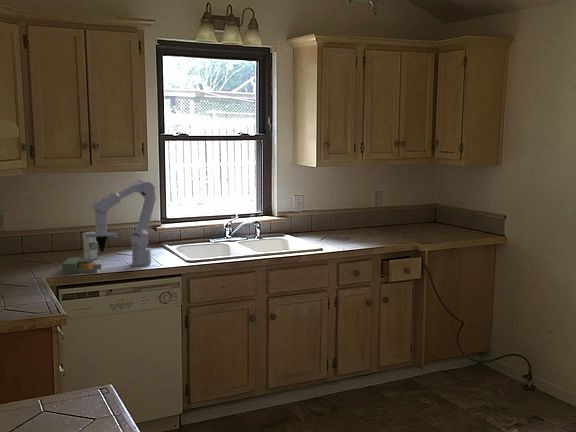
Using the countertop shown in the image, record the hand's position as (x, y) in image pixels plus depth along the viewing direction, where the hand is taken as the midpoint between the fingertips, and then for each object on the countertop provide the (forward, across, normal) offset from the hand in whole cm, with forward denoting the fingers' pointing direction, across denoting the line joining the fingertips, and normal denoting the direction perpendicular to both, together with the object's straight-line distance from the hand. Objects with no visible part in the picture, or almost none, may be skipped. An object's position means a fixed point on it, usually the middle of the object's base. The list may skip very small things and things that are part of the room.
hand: (102, 251), depth 307 cm
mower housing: (+9, +10, +1) cm, 13 cm away
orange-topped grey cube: (+9, +8, 0) cm, 12 cm away
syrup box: (+10, +10, -26) cm, 29 cm away
